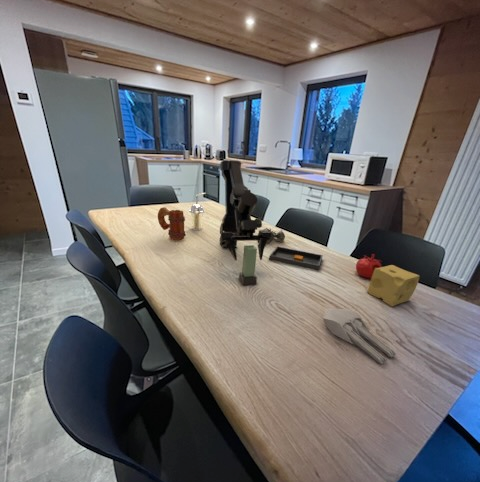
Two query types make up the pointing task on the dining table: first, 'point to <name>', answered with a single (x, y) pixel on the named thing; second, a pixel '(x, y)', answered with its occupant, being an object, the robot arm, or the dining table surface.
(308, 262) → the pan
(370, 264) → the pomegranate
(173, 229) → the mug
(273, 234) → the brown spiky lump
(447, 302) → the dining table surface
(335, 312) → the turret
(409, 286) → the cheese
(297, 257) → the crust
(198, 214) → the cup with straw
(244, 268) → the brush
